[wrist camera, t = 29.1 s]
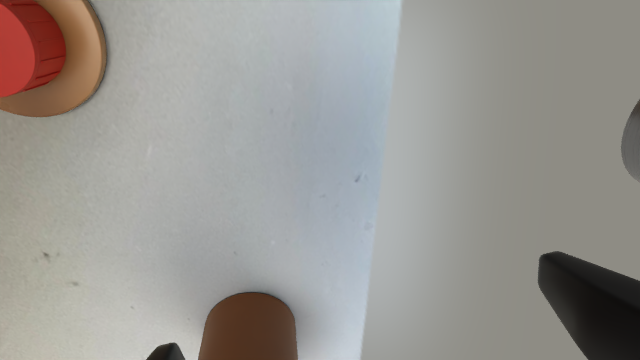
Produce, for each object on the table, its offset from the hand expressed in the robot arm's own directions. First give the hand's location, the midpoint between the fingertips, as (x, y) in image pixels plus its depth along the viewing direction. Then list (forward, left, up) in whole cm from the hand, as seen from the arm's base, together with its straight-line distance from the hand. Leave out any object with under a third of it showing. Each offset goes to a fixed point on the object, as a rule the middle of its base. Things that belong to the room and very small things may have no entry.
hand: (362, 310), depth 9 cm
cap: (+12, -8, -10) cm, 17 cm away
